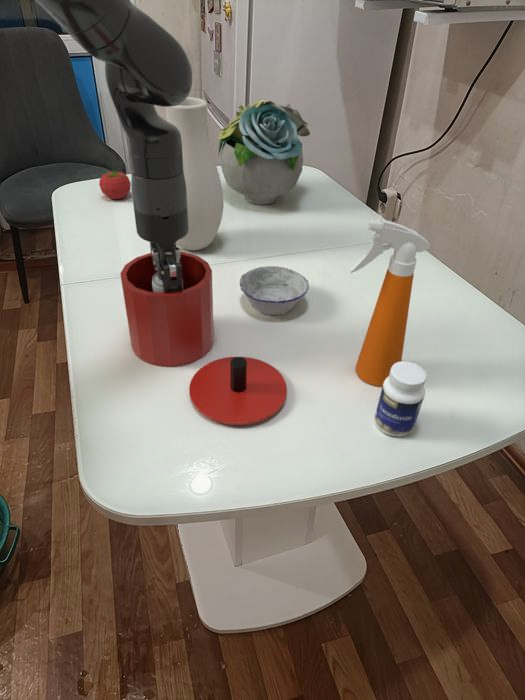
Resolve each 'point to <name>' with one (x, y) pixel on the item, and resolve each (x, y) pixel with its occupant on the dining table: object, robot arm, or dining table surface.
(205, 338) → the pot
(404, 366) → the pill bottle
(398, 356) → the spray bottle
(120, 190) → the tomato
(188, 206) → the vase
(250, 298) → the bowl
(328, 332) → the dining table surface
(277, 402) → the lid
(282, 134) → the flower arrangement
